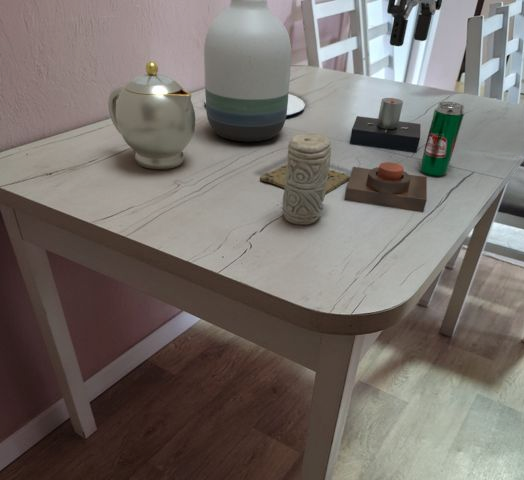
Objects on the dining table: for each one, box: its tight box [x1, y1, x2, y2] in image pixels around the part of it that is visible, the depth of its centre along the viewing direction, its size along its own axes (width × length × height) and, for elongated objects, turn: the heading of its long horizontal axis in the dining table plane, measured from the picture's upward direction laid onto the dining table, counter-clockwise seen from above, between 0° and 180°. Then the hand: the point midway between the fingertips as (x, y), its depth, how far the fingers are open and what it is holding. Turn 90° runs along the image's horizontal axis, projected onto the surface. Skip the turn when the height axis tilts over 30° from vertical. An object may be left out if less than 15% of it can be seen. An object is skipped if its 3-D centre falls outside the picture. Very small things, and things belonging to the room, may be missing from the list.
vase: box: [203, 0, 292, 143], centre depth 97 cm, size 17×17×24 cm
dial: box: [377, 97, 404, 129], centre depth 102 cm, size 4×4×5 cm
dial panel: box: [349, 115, 422, 153], centre depth 105 cm, size 14×10×3 cm
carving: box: [282, 134, 332, 226], centre depth 72 cm, size 6×8×12 cm
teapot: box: [107, 61, 196, 171], centre depth 85 cm, size 18×14×16 cm
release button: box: [377, 161, 405, 181], centre depth 80 cm, size 4×4×2 cm
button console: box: [344, 166, 428, 213], centre depth 83 cm, size 13×10×4 cm
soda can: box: [419, 101, 465, 178], centre depth 89 cm, size 5×5×12 cm
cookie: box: [259, 163, 350, 195], centre depth 87 cm, size 12×12×1 cm
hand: (408, 42), depth 84 cm, fingers open, 8 cm apart
